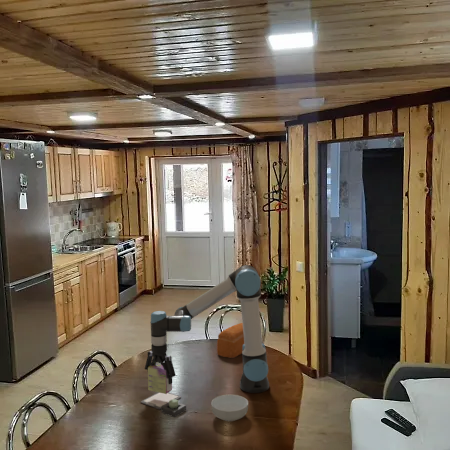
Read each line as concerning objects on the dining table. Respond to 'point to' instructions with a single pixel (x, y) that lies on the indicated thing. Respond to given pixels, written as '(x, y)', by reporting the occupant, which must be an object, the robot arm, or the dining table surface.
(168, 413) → the button housing
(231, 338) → the bread
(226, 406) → the cereal bowl
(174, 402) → the button
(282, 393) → the dining table surface
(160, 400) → the clipboard
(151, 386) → the box
